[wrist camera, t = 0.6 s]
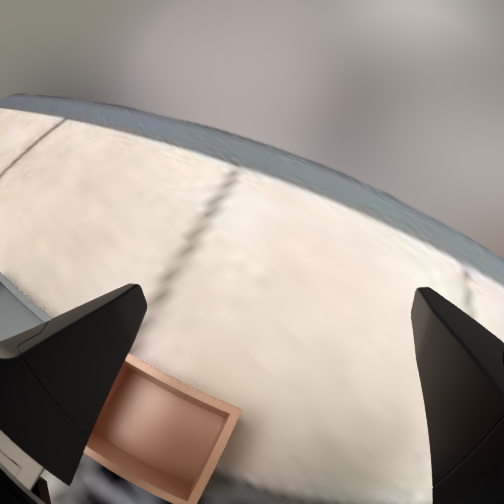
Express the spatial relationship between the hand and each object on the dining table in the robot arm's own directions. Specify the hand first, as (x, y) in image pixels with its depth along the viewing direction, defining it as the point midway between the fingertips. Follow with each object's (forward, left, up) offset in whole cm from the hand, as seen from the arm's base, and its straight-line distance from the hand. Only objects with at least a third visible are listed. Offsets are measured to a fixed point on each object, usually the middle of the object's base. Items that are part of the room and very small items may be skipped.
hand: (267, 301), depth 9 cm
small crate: (-6, +3, -15) cm, 16 cm away
